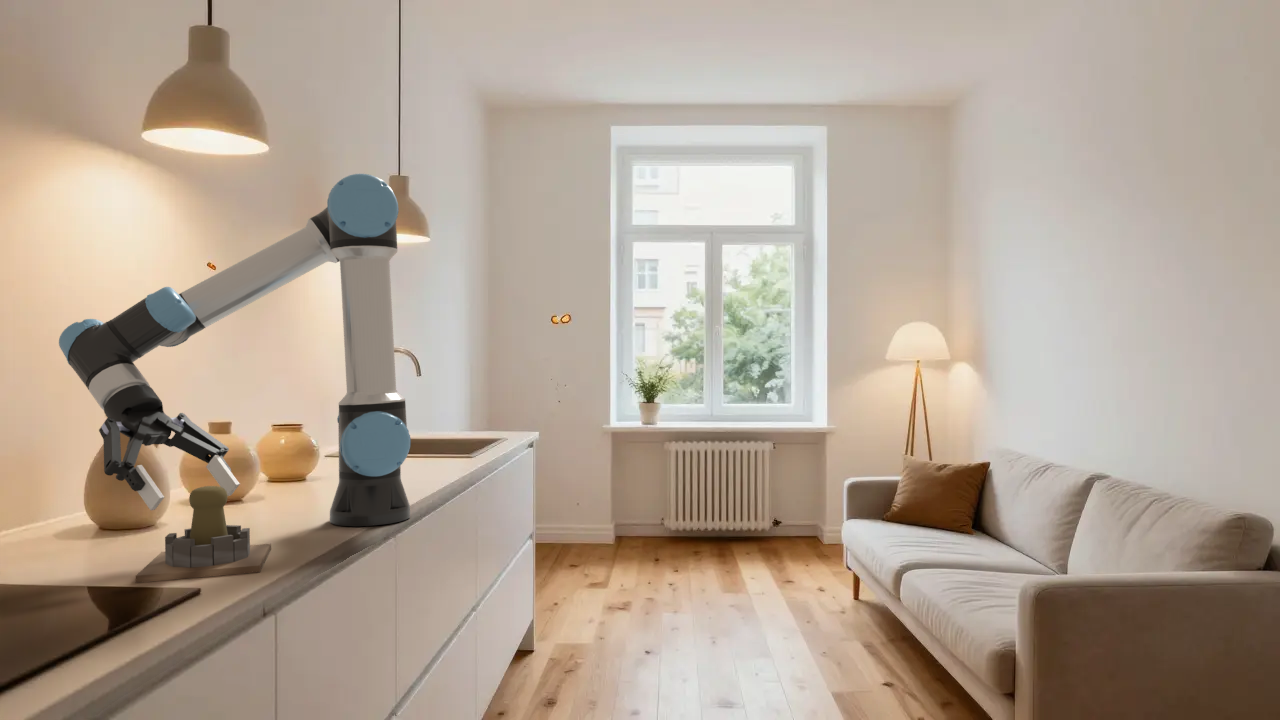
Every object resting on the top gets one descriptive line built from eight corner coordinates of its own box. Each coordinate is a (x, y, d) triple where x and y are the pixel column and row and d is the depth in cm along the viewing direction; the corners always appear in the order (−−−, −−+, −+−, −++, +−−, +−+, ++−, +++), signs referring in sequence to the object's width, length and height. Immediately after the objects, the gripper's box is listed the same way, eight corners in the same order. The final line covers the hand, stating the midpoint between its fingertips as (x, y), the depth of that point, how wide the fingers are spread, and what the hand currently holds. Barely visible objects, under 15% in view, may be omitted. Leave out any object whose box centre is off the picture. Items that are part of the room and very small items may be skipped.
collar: (270, 549, 136) (270, 519, 136) (259, 572, 121) (259, 538, 121) (161, 558, 131) (161, 526, 131) (135, 582, 116) (135, 547, 116)
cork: (212, 563, 122) (211, 490, 122) (177, 562, 124) (176, 489, 124) (239, 554, 128) (239, 484, 128) (206, 552, 129) (205, 483, 129)
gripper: (183, 410, 144) (249, 500, 139) (35, 420, 121) (107, 528, 115) (205, 380, 142) (273, 469, 137) (59, 384, 119) (134, 492, 113)
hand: (197, 496), depth 126 cm, fingers open, 13 cm apart
